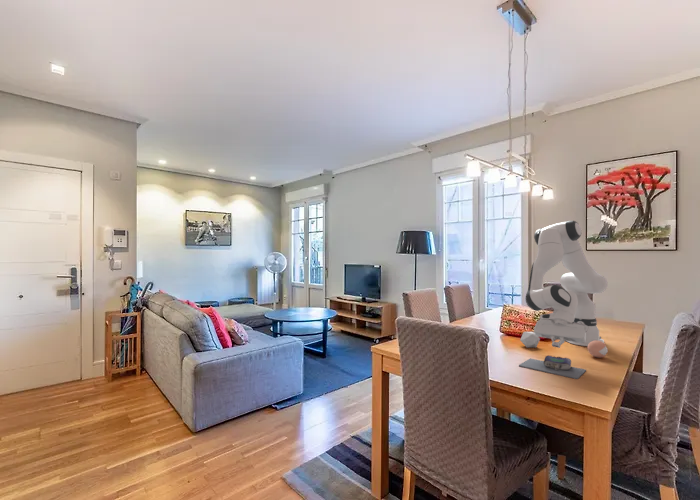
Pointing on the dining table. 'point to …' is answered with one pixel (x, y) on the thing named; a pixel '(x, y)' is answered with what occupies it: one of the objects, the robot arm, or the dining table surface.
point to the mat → (552, 369)
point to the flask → (557, 362)
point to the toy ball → (597, 349)
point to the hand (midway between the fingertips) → (555, 346)
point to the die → (530, 339)
